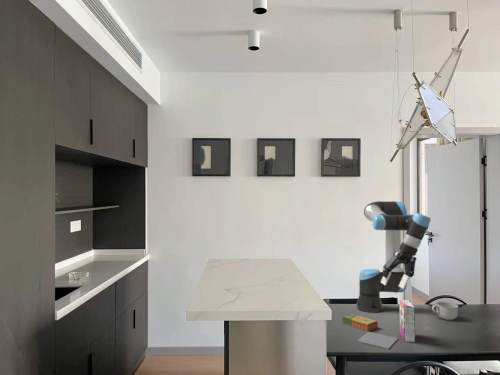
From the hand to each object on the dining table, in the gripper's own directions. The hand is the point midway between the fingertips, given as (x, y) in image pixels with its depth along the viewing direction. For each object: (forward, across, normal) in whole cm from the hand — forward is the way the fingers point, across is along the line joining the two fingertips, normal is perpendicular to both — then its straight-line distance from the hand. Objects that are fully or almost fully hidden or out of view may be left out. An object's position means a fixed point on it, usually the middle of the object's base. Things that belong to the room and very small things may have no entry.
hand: (392, 285), depth 175 cm
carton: (+29, +6, +12) cm, 32 cm away
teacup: (+13, +54, +1) cm, 56 cm away
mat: (+25, -3, -6) cm, 26 cm away
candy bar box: (+20, +12, -10) cm, 26 cm away
